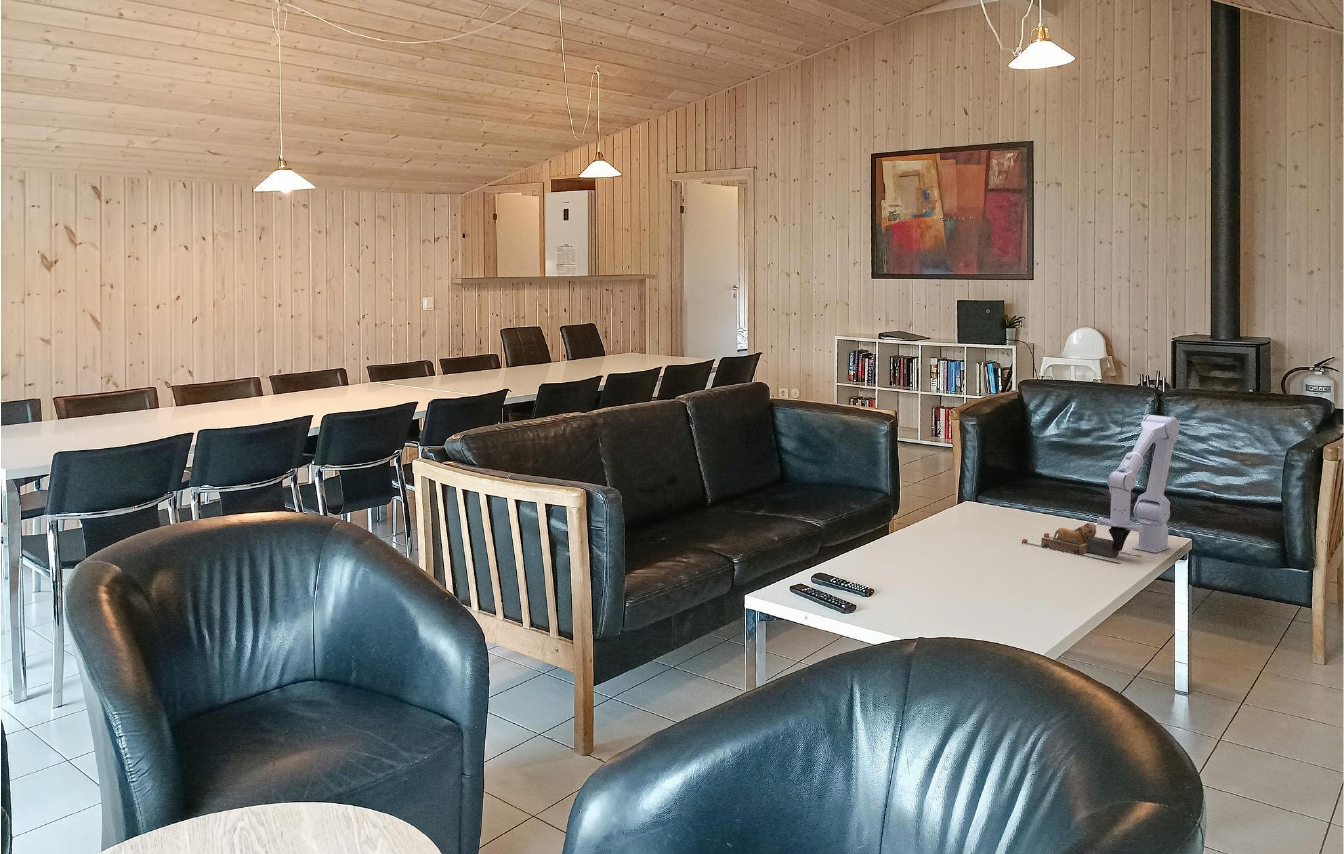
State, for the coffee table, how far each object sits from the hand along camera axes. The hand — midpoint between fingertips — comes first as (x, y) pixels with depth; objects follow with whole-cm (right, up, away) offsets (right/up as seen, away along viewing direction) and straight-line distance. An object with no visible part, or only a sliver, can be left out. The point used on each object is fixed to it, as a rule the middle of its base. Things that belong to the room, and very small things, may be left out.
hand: (1118, 550), depth 338 cm
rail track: (-8, -1, +11) cm, 14 cm away
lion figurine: (-10, -1, +13) cm, 16 cm away
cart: (-8, -1, +10) cm, 13 cm away
